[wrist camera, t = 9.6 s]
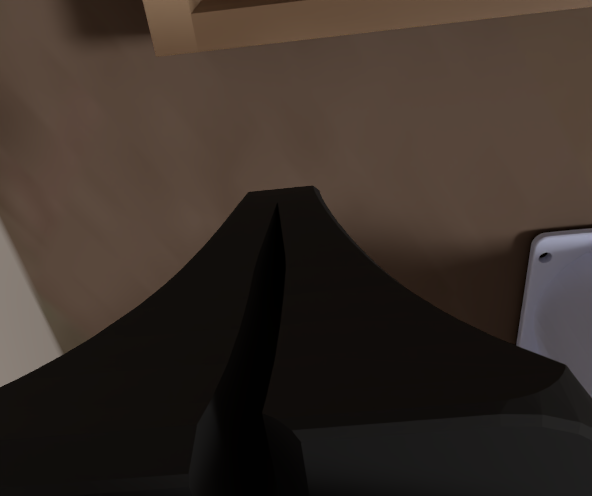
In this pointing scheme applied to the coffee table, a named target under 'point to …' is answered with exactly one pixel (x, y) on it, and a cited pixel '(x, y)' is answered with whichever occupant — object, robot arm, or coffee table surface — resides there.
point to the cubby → (312, 19)
